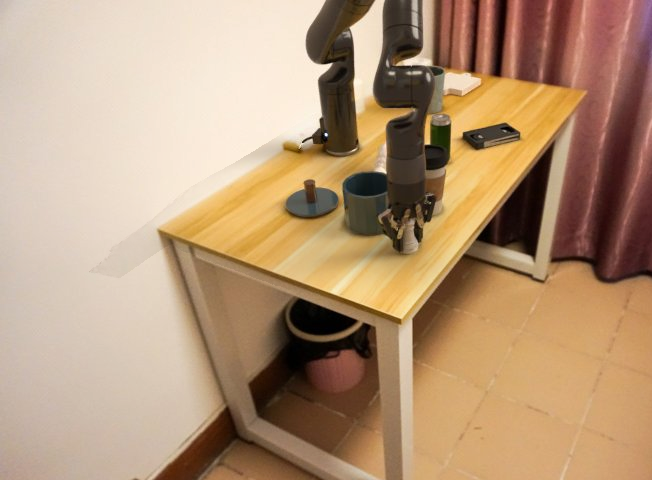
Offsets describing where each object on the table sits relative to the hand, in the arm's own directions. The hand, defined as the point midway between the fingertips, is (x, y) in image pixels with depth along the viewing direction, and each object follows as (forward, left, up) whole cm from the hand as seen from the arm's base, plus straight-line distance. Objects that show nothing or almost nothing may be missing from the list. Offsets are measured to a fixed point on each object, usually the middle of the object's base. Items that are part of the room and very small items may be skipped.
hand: (407, 245), depth 112 cm
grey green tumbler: (-15, +73, -1) cm, 75 cm away
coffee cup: (0, +16, -1) cm, 16 cm away
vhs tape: (+8, +56, -1) cm, 57 cm away
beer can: (-3, +40, -1) cm, 40 cm away
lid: (-27, +11, 0) cm, 29 cm away
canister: (-11, +8, -1) cm, 14 cm away
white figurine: (-14, +27, -1) cm, 30 cm away
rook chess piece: (0, 0, -1) cm, 1 cm away
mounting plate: (-11, +94, -1) cm, 95 cm away
